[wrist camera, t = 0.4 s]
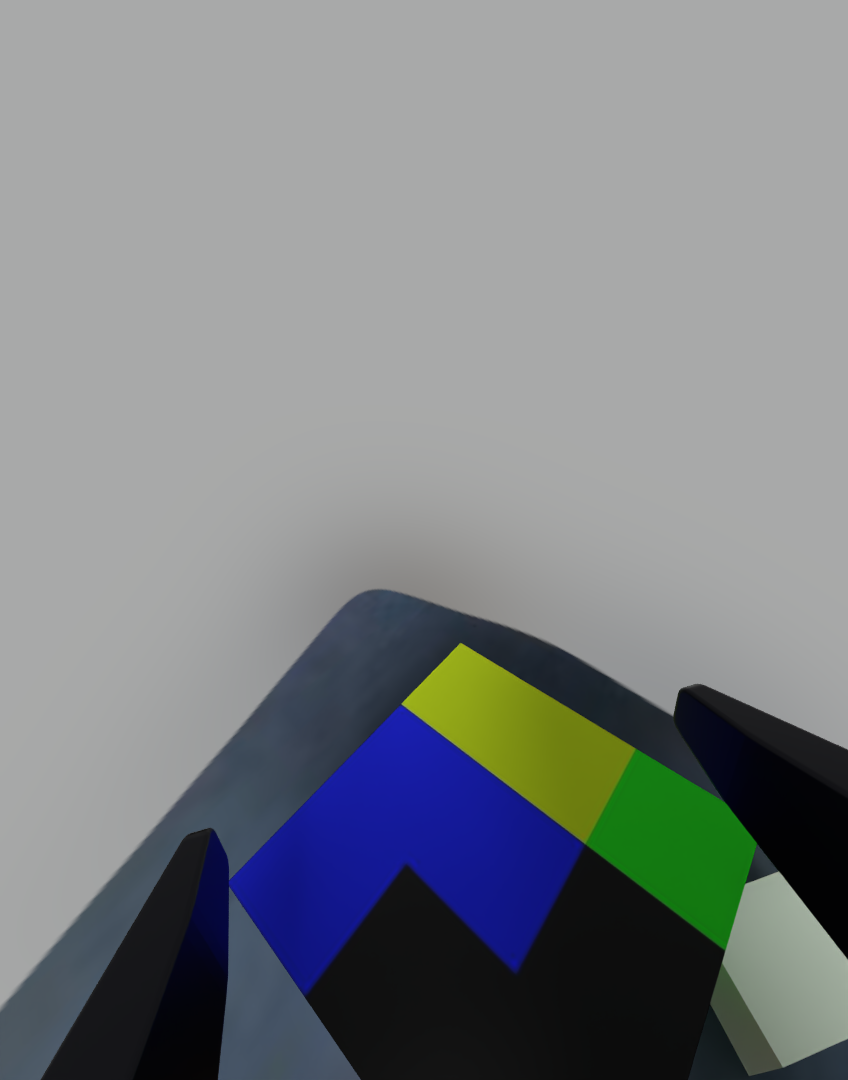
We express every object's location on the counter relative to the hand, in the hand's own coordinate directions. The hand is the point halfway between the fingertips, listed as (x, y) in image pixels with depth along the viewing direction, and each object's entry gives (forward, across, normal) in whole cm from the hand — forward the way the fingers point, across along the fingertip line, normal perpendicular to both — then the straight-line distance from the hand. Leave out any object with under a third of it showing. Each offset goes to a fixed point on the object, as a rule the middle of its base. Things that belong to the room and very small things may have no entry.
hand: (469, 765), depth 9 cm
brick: (0, -10, +16) cm, 19 cm away
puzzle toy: (+3, -1, +15) cm, 16 cm away
